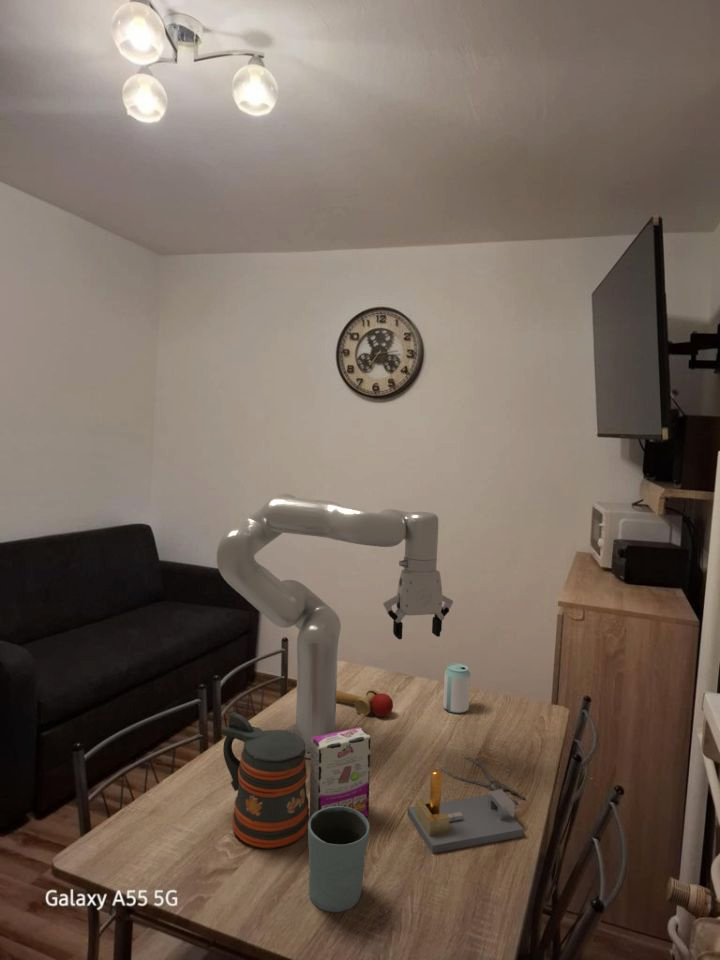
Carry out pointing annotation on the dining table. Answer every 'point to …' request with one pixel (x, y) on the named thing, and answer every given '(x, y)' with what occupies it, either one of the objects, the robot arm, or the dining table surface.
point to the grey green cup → (336, 857)
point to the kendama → (368, 702)
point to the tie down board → (469, 825)
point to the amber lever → (439, 796)
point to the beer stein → (267, 784)
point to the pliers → (492, 787)
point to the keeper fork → (431, 818)
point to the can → (456, 688)
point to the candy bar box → (340, 770)
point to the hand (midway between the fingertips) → (417, 636)
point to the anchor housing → (501, 804)
